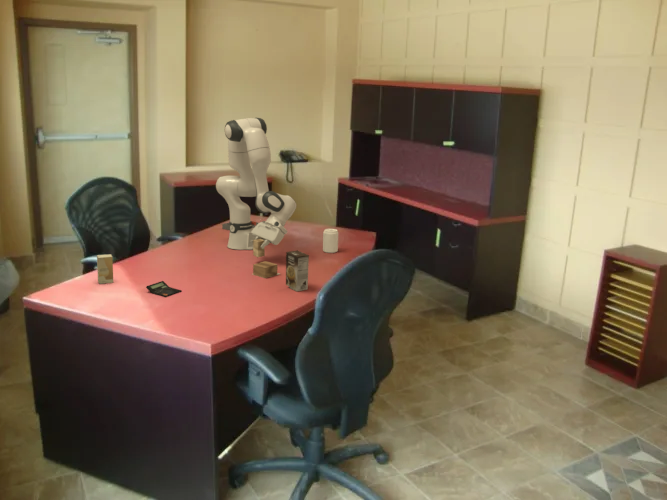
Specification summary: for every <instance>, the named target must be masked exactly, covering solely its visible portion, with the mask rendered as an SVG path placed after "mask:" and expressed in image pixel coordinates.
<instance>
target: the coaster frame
mask: <svg viewBox="0 0 667 500" xmlns="http://www.w3.org/2000/svg"><path fill="white" fill-rule="evenodd" d="M250 221H251V222H252V221H253V220H250ZM255 222H256V225H257V224H258V223H259V222H257V221H255ZM221 225H222V227H221V228H222V230H226V231H230V228H229V222H225V223H222V224H221ZM256 225H253V228H254V227H255V226H256Z"/></svg>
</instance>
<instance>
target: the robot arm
mask: <svg viewBox="0 0 667 500" xmlns="http://www.w3.org/2000/svg"><path fill="white" fill-rule="evenodd" d="M267 130H268V126H267V123H266V121H265V120H264V119H263V118H261V117H244V118H240V119H233V120H232V119H231V120H229V121H226V123H225V125H224V134H225V137H226V138H227V140H228V143H227V145H228V146H227V150H228V151H227V152H228V155H227V157H228V165H229V167H230V168H231V169H232V170H234V171H236V172H237V173H238V174H239V175H223V176H219V177H218V178H217V180H216V183H215V189H216V191H217V193H218V194H219V195H220V196H221V197H222V198H223V199H224V200H225V202H226V203H227V204H228V205H227V206H228V208H229V209H228V210H229V222H228V223H229V228H230V230H229V234H228V235H229V237H228V242H227V246H226V247H227V248H229V249H232V250H241V251H242V250H246V251H247V250H248V251H249V250H251V251H253V240H256V239H262V240H264V241H265V242H264V243H263V244H261V245H260V248H262V249H263V248H264V247H265V248H266V247H267V246H268V245H269V244H272V245H274V246H277V245H279V244H280V243H281V242H282V240H283V238H284V237H285V235H286V234H287V233H288V230H287V229H286V228H285V225H286V223H287V221H288V220H289V219H290V218H291V217H292V216H293V215H294V212H295V211H296V209H297V202H296V200H295V199H294V198H293V197H291V196H290V195H284V194H280V193H277V192H275V191H273V190H270V189H269V185H268V179H267V173H268V168H269V166H270V164H271V163H272V162H271V161H272V158H271V157H272V154H271V148H270V145H269V141H268V137H267V136H266V135H267V132H268V131H267ZM241 197H245V198H253V197H255V201H254V202H255V203H254V204H255V208H256V209H257V211H258V212H259V213H262V214H269V213H270V214H269V216H268V217H267V218H266V220H262V221H260V222H258V224H257V225H256V222H257V221H254V220H251V207H250V206H249V205H248V203H246V202H244V201H242V200H241ZM251 221H252V222H251ZM253 225H256V226H255V227H254V228H253Z"/></svg>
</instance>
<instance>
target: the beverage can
mask: <svg viewBox="0 0 667 500" xmlns="http://www.w3.org/2000/svg"><path fill="white" fill-rule="evenodd" d="M322 236H323V237H322V251H323V252H324V253H327V254H334V253H337V252H338V251H339V250H338V249H339V231H338V229H336V228H325V229H324V230H323V234H322Z"/></svg>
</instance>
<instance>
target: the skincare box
mask: <svg viewBox="0 0 667 500" xmlns="http://www.w3.org/2000/svg"><path fill="white" fill-rule="evenodd" d="M113 261H114V260H113V255H112V254H98V255H96V264H97V265H96V267H97V268H96V269H97V282H98V284H100V285H102V284H112V283H114V266H113V265H114V264H113V263H114V262H113Z"/></svg>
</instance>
